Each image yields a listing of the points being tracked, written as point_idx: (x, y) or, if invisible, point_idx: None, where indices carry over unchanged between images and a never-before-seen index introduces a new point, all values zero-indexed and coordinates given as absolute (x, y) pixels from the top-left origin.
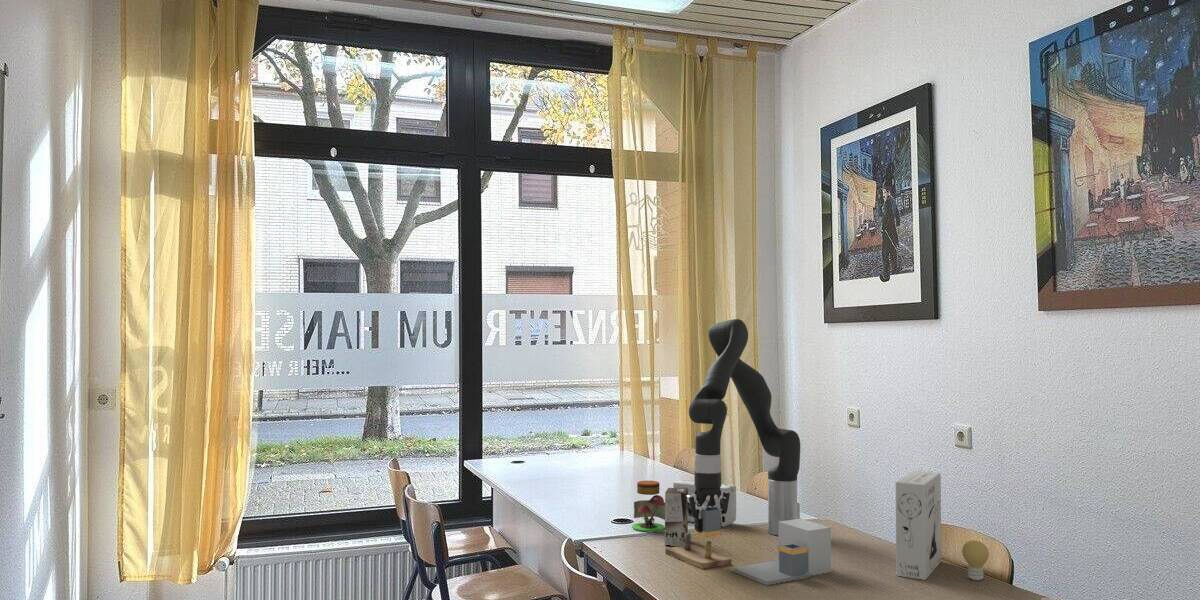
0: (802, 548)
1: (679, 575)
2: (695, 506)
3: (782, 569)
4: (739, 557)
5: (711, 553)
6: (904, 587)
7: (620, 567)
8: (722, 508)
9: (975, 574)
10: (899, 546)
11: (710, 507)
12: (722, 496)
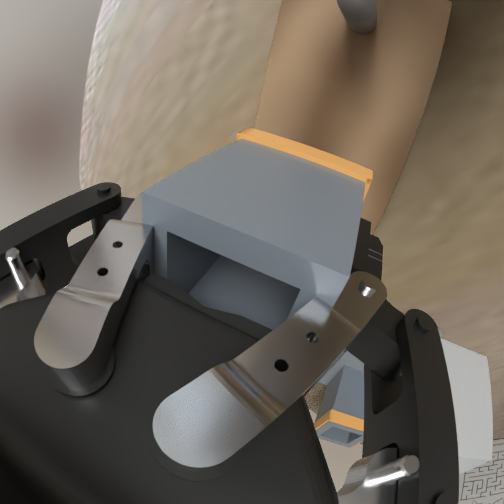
0: (337, 443)
1: (161, 174)
2: (108, 227)
3: (337, 377)
4: (469, 216)
5: (388, 140)
6: None
7: (100, 31)
8: (400, 365)
9: None
10: None
11: (296, 305)
12: (350, 486)
